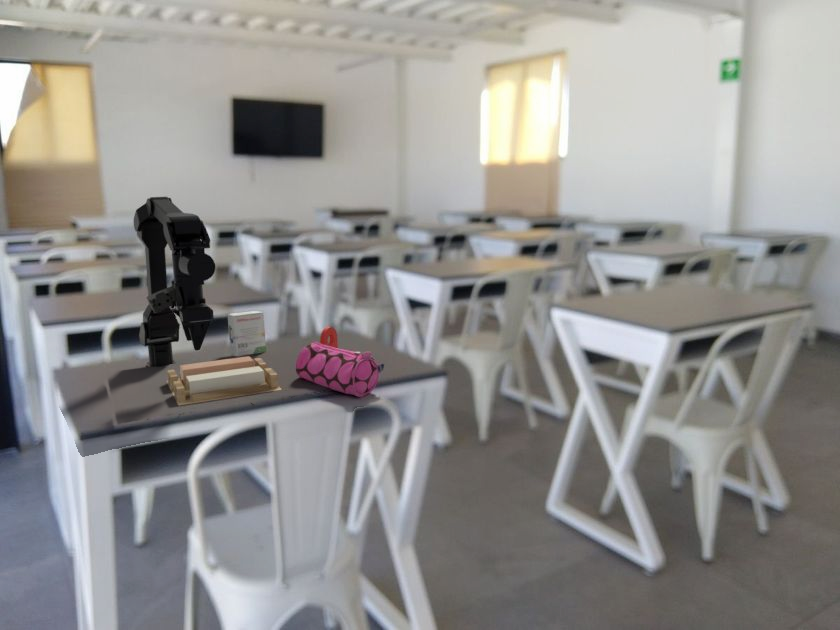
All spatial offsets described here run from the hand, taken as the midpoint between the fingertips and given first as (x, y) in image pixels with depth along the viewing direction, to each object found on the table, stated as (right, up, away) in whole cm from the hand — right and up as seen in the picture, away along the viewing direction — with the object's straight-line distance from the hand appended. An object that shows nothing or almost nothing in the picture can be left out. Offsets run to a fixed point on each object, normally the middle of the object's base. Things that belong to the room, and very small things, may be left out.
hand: (193, 345), depth 153 cm
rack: (+5, -10, +6) cm, 13 cm away
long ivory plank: (+7, -10, +2) cm, 12 cm away
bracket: (+23, -5, +32) cm, 40 cm away
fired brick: (+2, -8, +11) cm, 14 cm away
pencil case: (+31, -10, +7) cm, 33 cm away
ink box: (+3, -5, +35) cm, 36 cm away
